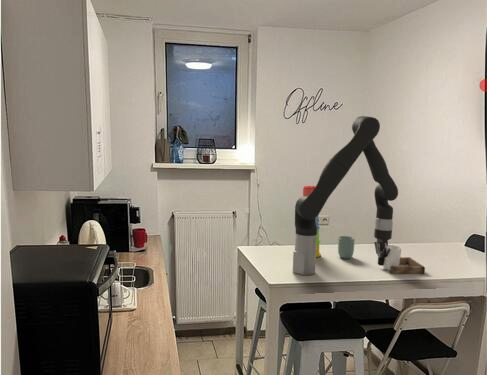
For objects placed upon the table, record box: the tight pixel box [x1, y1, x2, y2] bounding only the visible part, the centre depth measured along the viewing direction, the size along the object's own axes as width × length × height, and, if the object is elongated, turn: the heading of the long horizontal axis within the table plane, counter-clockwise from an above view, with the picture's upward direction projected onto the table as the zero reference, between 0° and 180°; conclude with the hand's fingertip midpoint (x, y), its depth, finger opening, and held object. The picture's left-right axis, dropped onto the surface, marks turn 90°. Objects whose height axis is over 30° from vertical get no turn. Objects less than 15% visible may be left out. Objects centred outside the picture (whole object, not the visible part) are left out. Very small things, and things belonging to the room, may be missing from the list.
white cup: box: [382, 244, 402, 271], centre depth 193 cm, size 8×8×10 cm
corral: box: [389, 256, 426, 275], centre depth 194 cm, size 15×15×3 cm
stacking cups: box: [302, 185, 321, 258], centre depth 209 cm, size 10×10×35 cm
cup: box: [337, 235, 356, 260], centre depth 208 cm, size 8×8×10 cm
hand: (380, 265), depth 193 cm, fingers closed
